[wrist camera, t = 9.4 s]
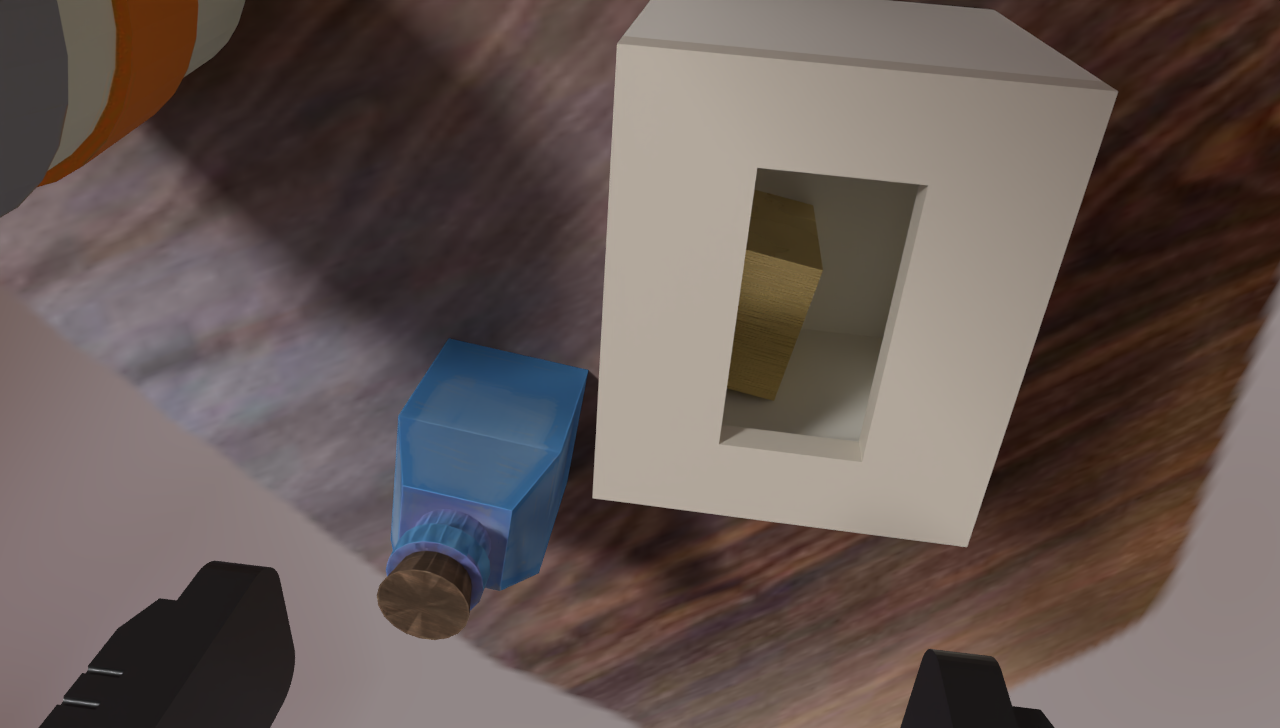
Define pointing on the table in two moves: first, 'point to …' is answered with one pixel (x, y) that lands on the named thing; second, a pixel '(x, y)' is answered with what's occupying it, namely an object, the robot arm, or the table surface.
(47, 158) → the reusable coffee cup
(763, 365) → the tan wooden block
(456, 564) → the perfume bottle
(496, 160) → the table surface
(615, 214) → the tissue box
